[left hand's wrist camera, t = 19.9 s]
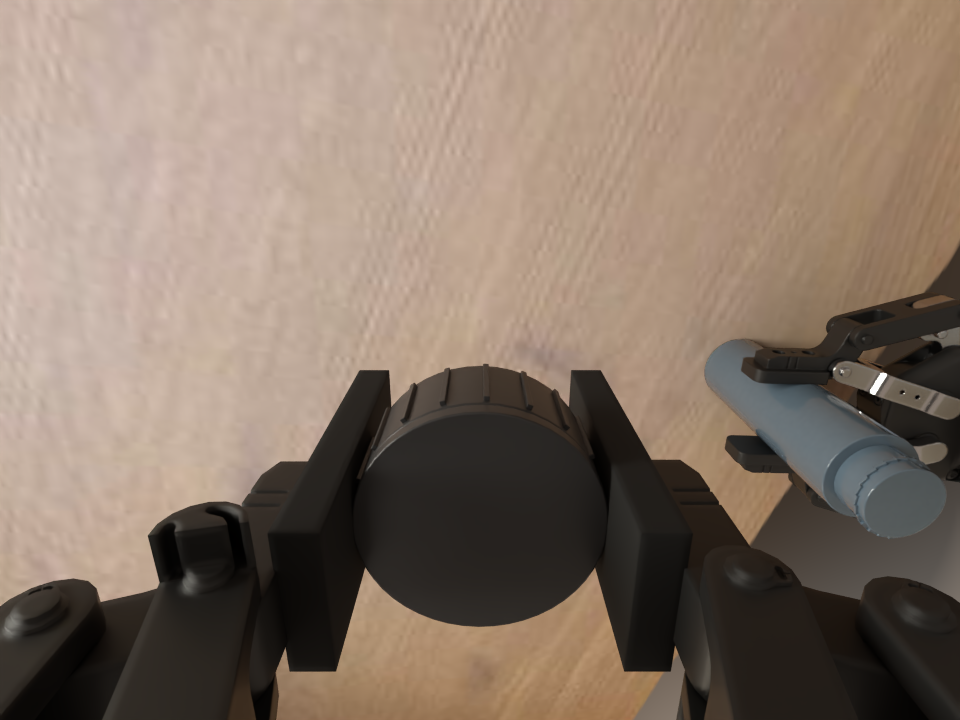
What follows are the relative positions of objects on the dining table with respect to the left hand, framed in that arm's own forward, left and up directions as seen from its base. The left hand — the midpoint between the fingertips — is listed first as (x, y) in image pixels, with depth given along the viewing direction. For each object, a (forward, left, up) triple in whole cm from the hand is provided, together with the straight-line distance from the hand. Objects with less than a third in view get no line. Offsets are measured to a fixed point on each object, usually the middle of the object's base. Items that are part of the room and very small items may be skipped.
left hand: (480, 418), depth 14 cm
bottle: (+3, -18, -21) cm, 28 cm away
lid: (0, 0, +4) cm, 4 cm away
